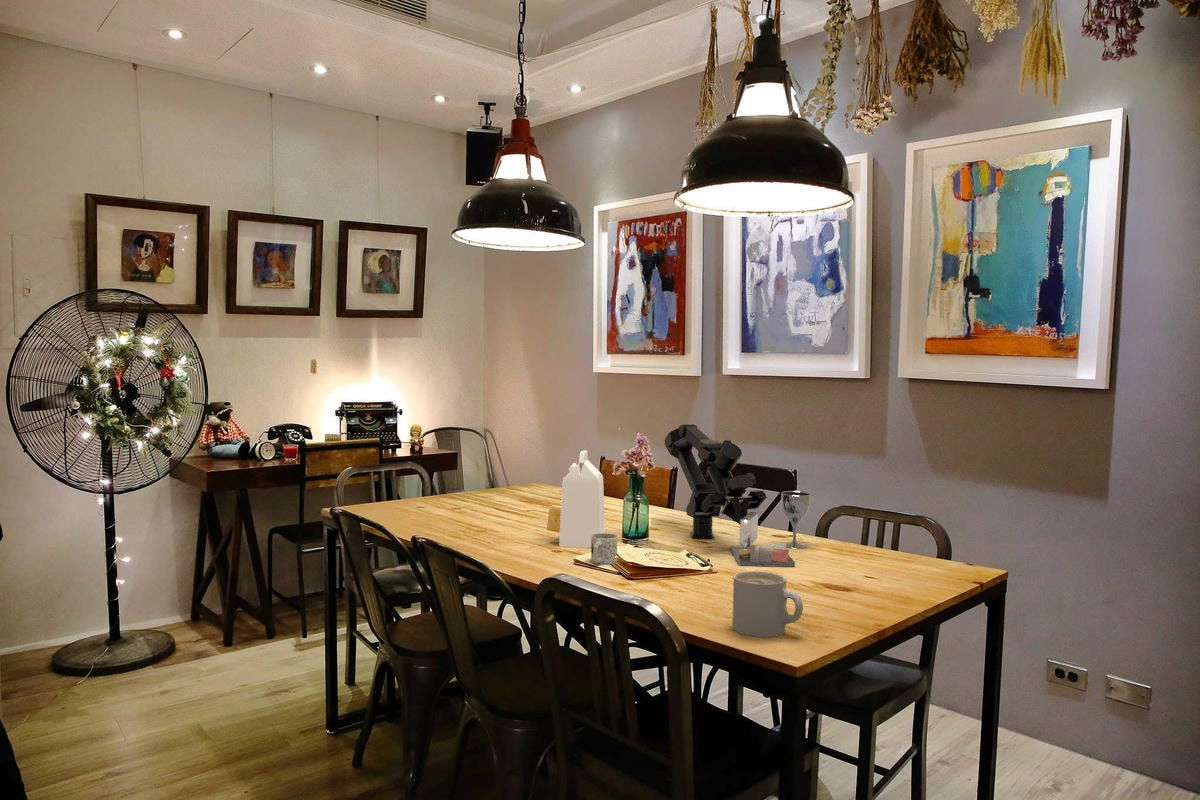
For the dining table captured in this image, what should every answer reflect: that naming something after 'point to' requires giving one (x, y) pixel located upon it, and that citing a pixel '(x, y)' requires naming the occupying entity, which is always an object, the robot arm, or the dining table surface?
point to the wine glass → (795, 512)
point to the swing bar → (748, 529)
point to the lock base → (763, 555)
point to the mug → (603, 548)
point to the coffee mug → (762, 604)
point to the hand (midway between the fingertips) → (746, 527)
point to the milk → (581, 504)
